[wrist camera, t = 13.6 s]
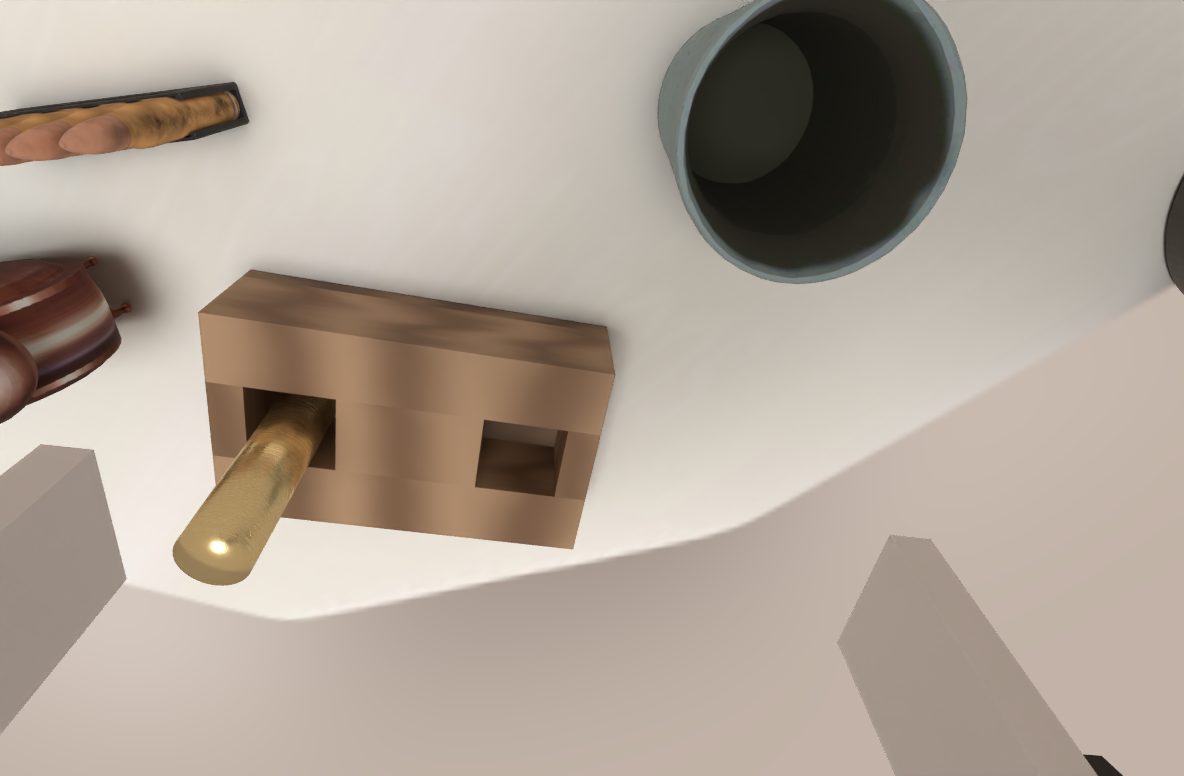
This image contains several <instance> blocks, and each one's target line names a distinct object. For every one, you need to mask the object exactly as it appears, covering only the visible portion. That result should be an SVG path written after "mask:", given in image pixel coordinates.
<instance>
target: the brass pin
mask: <svg viewBox="0 0 1184 776" xmlns="http://www.w3.org/2000/svg"><path fill="white" fill-rule="evenodd" d="M335 415H336V399H329V398H321V397H314V396H307V395H299V394H292V393H285V392H282V393H281V395H280V396H279V398H278V399H277V400H276V402H275V403H274V405H273V406H272V407H271V409H270V410H269V412H268V413H267V414H266V416H265V417H264V419H263V420H262V421H261V423H260V424H259V426H258V427H257V428H256V430H255V431H254V433H253V434H252V436H251V437H250V438H249V440H248V441H247V443H246V444H245V445H244V447H243V448H242V450H241V451H240V452H239V454H238V455H237V457H236V458H235V459H234V461H233V462H232V464H231V465H230V466H229V468H228V469H227V471H226V472H225V473H224V475H223V476H222V478H221V479H220V481H219V482H218V483H217V485H216V486H215V488H214V489H213V490H212V492H211V493H210V495H209V496H208V497H207V499H206V500H205V502H204V503H203V504H202V506H201V507H200V509H199V510H198V511H197V513H196V514H195V516H194V517H193V518H192V520H191V521H190V523H189V524H188V525H187V527H186V528H185V530H184V531H183V533H182V534H181V535H180V537H179V538H178V540H177V541H176V542H175V544H174V547H173V557H174V560H175V562H176V564H177V565H178V567H179V568H180V569H181V570H182V571H183V572H184V573H186V574H187V575H188V576H190V577H192V578H194V579H196V580H198V581H200V582H203V583H207V584H211V585H232V584H236V583H238V582H240V581H242V580H244V579H245V578H246V577H247V576H248V575H249V574H250V572H251V570H252V569H253V567H254V565H255V563H256V561H257V559H258V557H259V556H260V554H261V552H262V550H263V548H264V546H265V545H266V543H267V541H268V539H269V537H270V535H271V533H272V532H273V530H274V528H275V526H276V524H277V522H278V521H279V519H280V517H281V515H282V513H283V511H284V509H285V508H286V506H287V504H288V502H289V500H290V498H291V497H292V495H293V493H294V491H295V489H296V487H297V485H298V484H299V482H300V480H301V478H302V476H303V474H304V473H305V471H306V469H307V467H308V465H309V463H310V461H311V460H312V458H313V456H314V454H315V452H316V450H317V448H318V447H319V445H320V443H321V441H322V439H323V437H324V436H325V434H326V432H327V430H328V428H329V426H330V424H331V423H332V421H333V419H334V417H335Z"/></svg>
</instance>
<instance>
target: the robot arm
mask: <svg viewBox="0 0 1184 776" xmlns="http://www.w3.org/2000/svg"><path fill="white" fill-rule="evenodd" d="M1166 258H1167V264H1168V268H1169V271H1170V274H1171V276H1172V278H1173V281H1174V282H1175V284H1176V286H1177V287H1178V288H1179V290H1180V291H1181V292H1182V293H1183V294H1184V180H1183V182H1182V184H1181V186H1180V188H1179V191H1178V193H1177V195H1176V198H1175V201H1174V203H1173V206H1172V209H1171V213H1170V216H1169V221H1168V226H1167V232H1166ZM125 580H126V575H125V571H124V567H123V563H122V559H121V556H120V552H119V548H118V544H117V540H116V536H115V532H114V528H113V524H112V520H111V516H110V512H109V508H108V504H107V500H106V496H105V492H104V488H103V484H102V480H101V477H100V473H99V469H98V465H97V461H96V457H95V453H94V450H89V449H80V448H71V447H61V446H52V445H43V444H41V445H39V446H38V447H37V448H36V449H34V450H33V451H32V452H30V453H29V454H28V455H27V456H25V457H24V458H23V459H21V460H20V461H19V462H18V463H16V464H15V465H14V466H12V467H11V468H10V469H9V470H7V471H6V472H5V473H4V474H2V475H1V476H0V734H1V733H2V732H3V731H4V730H5V728H6V727H7V726H8V725H9V723H10V722H11V721H12V720H13V718H14V717H15V716H16V715H17V714H18V712H19V711H20V710H21V709H22V707H23V706H24V705H25V704H26V702H27V701H28V700H29V699H30V698H31V696H32V695H33V694H34V692H35V691H36V690H37V689H38V688H39V686H40V685H41V684H42V683H43V681H44V680H45V679H46V678H47V677H48V675H49V674H50V673H51V672H52V670H53V669H54V668H55V667H56V665H57V664H58V663H59V662H60V661H61V659H62V658H63V657H64V656H65V654H66V653H67V652H68V651H69V649H70V648H71V647H72V646H73V644H74V643H75V642H76V641H77V640H78V638H79V637H80V636H81V635H82V633H83V632H84V631H85V630H86V628H87V627H88V626H89V625H90V624H91V622H92V621H93V620H94V619H95V617H96V616H97V615H98V614H99V612H100V611H101V610H102V609H103V607H104V606H105V605H106V604H107V603H108V601H109V600H110V599H111V598H112V596H113V595H114V594H115V593H116V591H117V590H118V589H119V588H120V587H121V585H122V584H123V583H124V582H125ZM837 643H838V645H839V647H840V649H841V652H842V654H843V656H844V659H845V661H846V663H847V666H848V668H849V670H850V672H851V675H852V677H853V679H854V682H855V684H856V686H857V688H858V691H859V693H860V695H861V698H862V700H863V702H864V704H865V707H866V709H867V712H868V714H869V716H870V718H871V721H872V723H873V725H874V728H875V730H876V732H877V735H878V737H879V739H880V741H881V744H882V746H883V748H884V750H885V753H886V755H887V757H888V760H889V762H890V764H891V767H892V769H893V771H894V774H895V776H1123V775H1122V774H1120V773H1119V772H1118V771H1117V770H1116V769H1115V768H1114V767H1113V766H1112V765H1111V764H1110V763H1109V762H1108V761H1106V760H1105V759H1104V758H1103V757H1102V756H1096V755H1083V754H1082V753H1081V751H1080V750H1079V748H1078V747H1077V746H1076V744H1075V743H1074V741H1073V740H1072V739H1071V737H1070V736H1069V734H1068V733H1067V731H1066V730H1065V729H1064V727H1063V726H1062V725H1061V723H1060V722H1059V720H1058V719H1057V717H1056V716H1055V715H1054V713H1053V712H1052V710H1051V709H1050V707H1049V706H1048V705H1047V703H1046V702H1045V700H1044V699H1043V698H1042V696H1041V695H1040V693H1039V692H1038V690H1037V689H1036V688H1035V686H1034V685H1033V683H1032V682H1031V681H1030V679H1029V678H1028V677H1027V675H1026V674H1025V672H1024V671H1023V669H1022V668H1021V666H1020V665H1019V664H1018V662H1017V661H1016V659H1015V658H1014V656H1013V655H1012V654H1011V652H1010V651H1009V649H1008V648H1007V647H1006V646H1005V644H1004V642H1003V641H1002V640H1001V638H1000V637H999V636H998V634H997V633H996V631H995V630H994V628H993V627H992V625H991V624H990V623H989V621H988V620H987V618H986V617H985V615H984V614H983V613H982V611H981V610H980V608H979V607H978V605H977V604H976V603H975V601H974V600H973V598H972V597H971V596H970V594H969V593H968V591H967V590H966V588H965V587H964V586H963V584H962V583H961V581H960V580H959V579H958V577H957V576H956V574H955V573H954V572H953V570H952V569H951V567H950V566H949V564H948V563H947V562H946V560H945V559H944V557H943V556H942V555H941V553H940V552H939V550H938V549H937V547H936V546H935V545H934V543H933V542H932V541H931V539H923V538H914V537H905V536H895V535H890V536H889V538H888V540H887V542H886V544H885V546H884V548H883V550H882V552H881V554H880V556H879V558H878V560H877V562H876V564H875V566H874V568H873V571H872V572H871V574H870V576H869V578H868V581H867V583H866V585H865V587H864V589H863V591H862V593H861V595H860V597H859V599H858V601H857V603H856V605H855V607H854V609H853V611H852V613H851V615H850V617H849V619H848V621H847V623H846V626H845V627H844V629H843V632H842V634H841V636H840V638H839V640H838V642H837Z"/></svg>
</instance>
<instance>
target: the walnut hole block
mask: <svg viewBox="0 0 1184 776" xmlns="http://www.w3.org/2000/svg"><path fill="white" fill-rule="evenodd" d="M198 315H199V325H200V335H201V345H202V354H203V364H204V374H205V384H206V394H207V403H208V413H209V423H210V433H211V443H212V452H213V462H214V472H215V482H216V485H217V483H218V482H219V481H220V479H221V478H222V476H223V475H224V473H225V472H226V471H227V469H228V468H229V466H230V465H231V464H232V462H233V461H234V459H235V458H236V457H237V455H238V454H239V452H240V451H241V450H242V448H243V447H244V445H245V444H246V443H247V441H248V440H249V438H250V437H251V436H252V434H253V433H254V431H255V430H256V428H257V427H258V426H259V424H260V423H261V421H262V420H263V419H264V417H265V416H266V414H267V413H268V412H269V410H270V409H271V407H272V406H273V405H274V403H275V402H276V400H277V399H278V398H279V396H280V395H281V393H282V392H285V393H292V394H299V395H307V396H314V397H321V398H329V399H336V415H335V417H334V419H333V421H332V423H331V424H330V426H329V428H328V430H327V432H326V434H325V436H324V437H323V439H322V441H321V443H320V445H319V447H318V448H317V450H316V452H315V454H314V456H313V458H312V460H311V461H310V463H309V465H308V467H307V469H306V471H305V473H304V474H303V476H302V478H301V480H300V482H299V484H298V485H297V487H296V489H295V491H294V493H293V495H292V497H291V498H290V500H289V502H288V504H287V506H286V508H285V509H284V511H283V513H282V515H281V517H284V518H293V519H302V520H311V521H320V522H329V523H338V524H347V525H356V526H366V527H375V528H384V529H393V530H402V531H411V532H420V533H429V534H438V535H447V536H456V537H465V538H475V539H484V540H493V541H502V542H511V543H520V544H529V545H538V546H547V547H556V548H565V549H573V547H574V543H575V539H576V535H577V531H578V527H579V522H580V518H581V514H582V510H583V506H584V502H585V498H586V493H587V489H588V485H589V481H590V477H591V473H592V469H593V464H594V460H595V456H596V452H597V448H598V444H599V440H600V435H601V431H602V427H603V423H604V419H605V415H606V410H607V406H608V402H609V398H610V394H611V390H612V386H613V381H614V377H615V371H614V366H613V360H612V355H611V349H610V343H609V338H608V332H607V327H604V326H597V325H591V324H585V323H579V322H572V321H566V320H560V319H554V318H547V317H541V316H535V315H529V314H522V313H516V312H510V311H504V310H497V309H491V308H485V307H479V306H472V305H466V304H460V303H454V302H447V301H441V300H435V299H429V298H422V297H416V296H410V295H404V294H398V293H391V292H385V291H379V290H373V289H366V288H360V287H354V286H348V285H341V284H335V283H329V282H323V281H316V280H310V279H304V278H298V277H291V276H285V275H279V274H273V273H266V272H260V271H254V270H250V271H248V272H247V273H246V274H245V275H243V276H242V277H241V278H240V279H239V280H237V281H236V282H235V283H234V284H232V285H231V286H230V287H229V288H228V289H226V290H225V291H224V292H223V293H221V294H220V295H219V296H218V297H216V298H215V299H214V300H213V301H212V302H210V303H209V304H208V305H207V306H205V307H204V308H203V309H202V310H201V311H199V312H198Z"/></svg>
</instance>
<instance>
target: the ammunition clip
mask: <svg viewBox="0 0 1184 776" xmlns="http://www.w3.org/2000/svg"><path fill="white" fill-rule="evenodd" d="M248 122H249V120H248V117H247V114H246V111H245V109H244V106H243V103H242V100H241V97H240V94H239V91H238V88H237V85H236V84H235V83H234V82H231V83H223V84H215V85H207V86H199V87H191V88H183V89H175V90H167V91H159V92H151V93H143V94H135V95H127V96H119V97H111V98H103V99H95V100H87V101H79V102H71V103H63V104H55V105H47V106H39V107H31V108H23V109H16V110H10V111H4V112H0V166H5V165H15V164H20V163H24V162H30V161H44V160H56V159H62V158H66V157H70V156H78V155H83V154H104V153H110V152H115V151H120V150H127V149H131V148H135V149H144V148H151V147H155V146H158V145H162V144H165V143H172V142H180V141H188V140H195V139H199V138H202V137H205V136H209V135H212V134H215V133H218V132H222V131H225V130H228V129H231V128H235V127H238V126H241V125H244V124H248Z"/></svg>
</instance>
